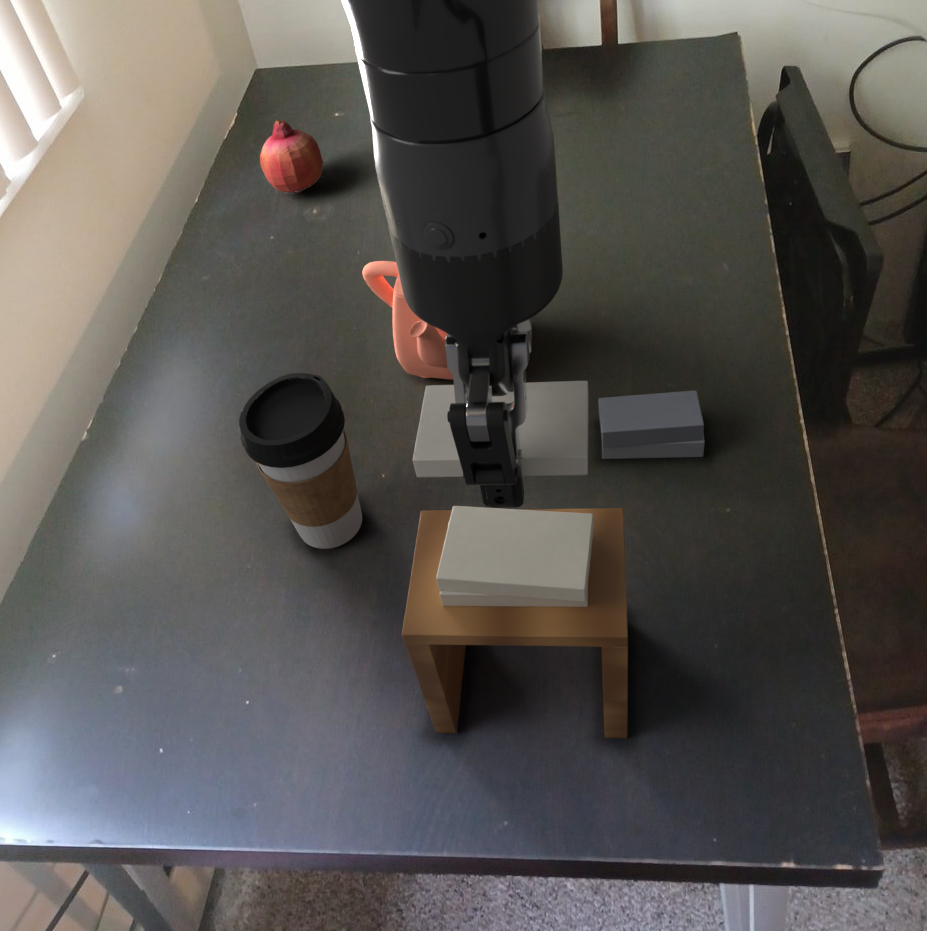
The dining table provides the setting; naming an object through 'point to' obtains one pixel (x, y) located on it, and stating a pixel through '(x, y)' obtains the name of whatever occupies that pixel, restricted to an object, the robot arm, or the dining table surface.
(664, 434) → the grey books
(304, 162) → the fruit
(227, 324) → the dining table surface
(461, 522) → the white books
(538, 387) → the white book
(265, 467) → the coffee cup
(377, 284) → the teapot
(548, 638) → the shelf
